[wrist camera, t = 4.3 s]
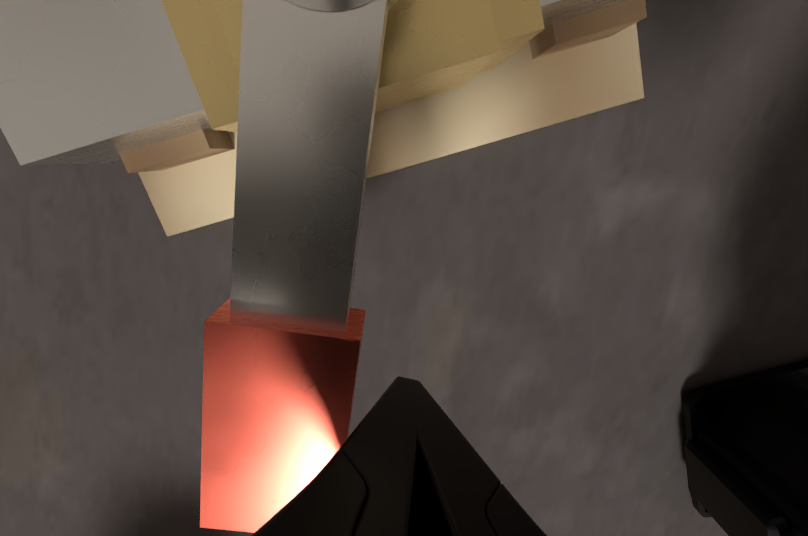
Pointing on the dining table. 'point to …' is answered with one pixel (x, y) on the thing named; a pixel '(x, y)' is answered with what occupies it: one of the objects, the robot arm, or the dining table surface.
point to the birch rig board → (429, 115)
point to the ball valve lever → (290, 256)
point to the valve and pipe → (211, 65)
